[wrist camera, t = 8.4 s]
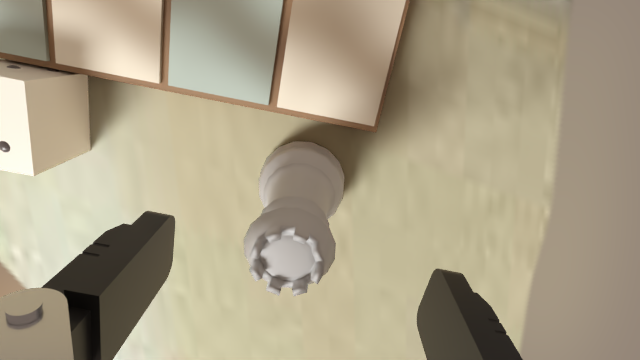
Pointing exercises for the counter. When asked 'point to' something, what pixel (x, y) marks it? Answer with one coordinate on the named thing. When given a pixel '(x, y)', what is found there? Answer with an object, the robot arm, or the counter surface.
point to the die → (41, 117)
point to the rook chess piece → (295, 217)
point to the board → (222, 49)
